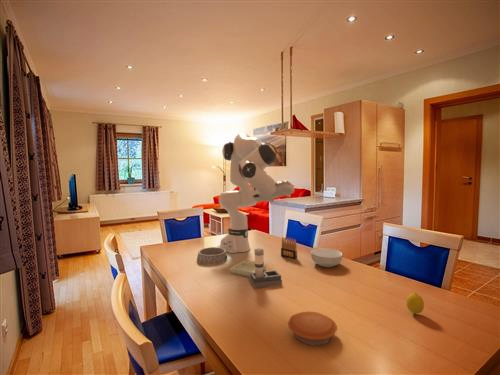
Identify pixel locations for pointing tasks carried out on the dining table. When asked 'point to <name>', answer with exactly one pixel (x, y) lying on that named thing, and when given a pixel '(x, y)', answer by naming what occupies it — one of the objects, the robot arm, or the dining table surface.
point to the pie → (312, 327)
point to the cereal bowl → (326, 257)
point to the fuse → (259, 263)
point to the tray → (244, 268)
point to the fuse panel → (266, 279)
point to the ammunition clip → (289, 248)
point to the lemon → (415, 303)
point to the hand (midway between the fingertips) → (280, 198)
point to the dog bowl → (211, 256)
